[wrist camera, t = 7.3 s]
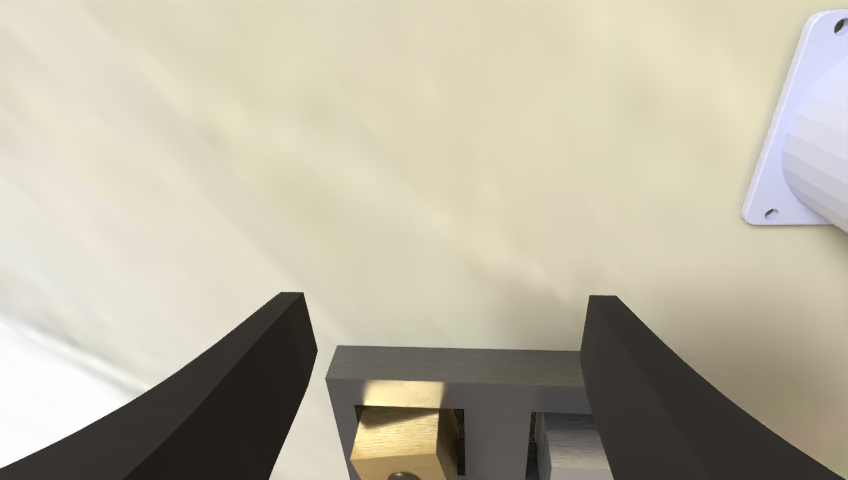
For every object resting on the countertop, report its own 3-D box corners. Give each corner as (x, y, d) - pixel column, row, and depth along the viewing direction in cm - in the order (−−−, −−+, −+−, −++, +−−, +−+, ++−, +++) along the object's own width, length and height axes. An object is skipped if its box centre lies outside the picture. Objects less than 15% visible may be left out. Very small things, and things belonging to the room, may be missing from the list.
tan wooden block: (441, 374, 26) (435, 454, 21) (458, 423, 28) (456, 506, 23) (369, 382, 27) (349, 461, 22) (391, 429, 29) (376, 510, 24)
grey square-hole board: (669, 353, 23) (688, 390, 21) (634, 467, 28) (647, 506, 26) (337, 345, 25) (325, 378, 23) (360, 453, 30) (352, 487, 28)
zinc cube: (620, 386, 25) (651, 473, 20) (608, 437, 27) (634, 525, 23) (538, 384, 25) (552, 468, 21) (534, 434, 28) (545, 519, 23)
